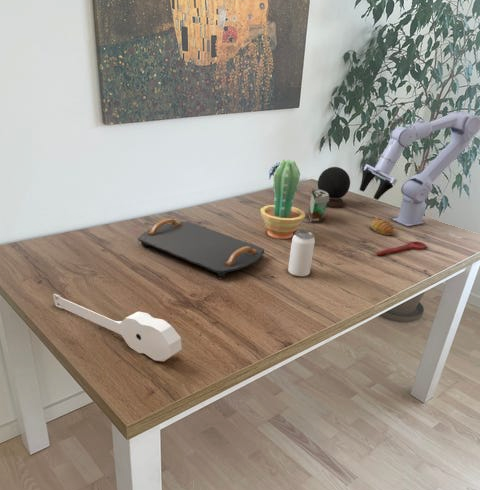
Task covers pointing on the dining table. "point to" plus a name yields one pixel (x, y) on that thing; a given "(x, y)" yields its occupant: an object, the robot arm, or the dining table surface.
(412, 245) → the spoon
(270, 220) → the potted cactus
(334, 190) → the black ball on stand
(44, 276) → the dining table surface
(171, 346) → the white toy guitar
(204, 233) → the serving tray
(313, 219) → the food container
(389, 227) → the pastry
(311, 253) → the can
